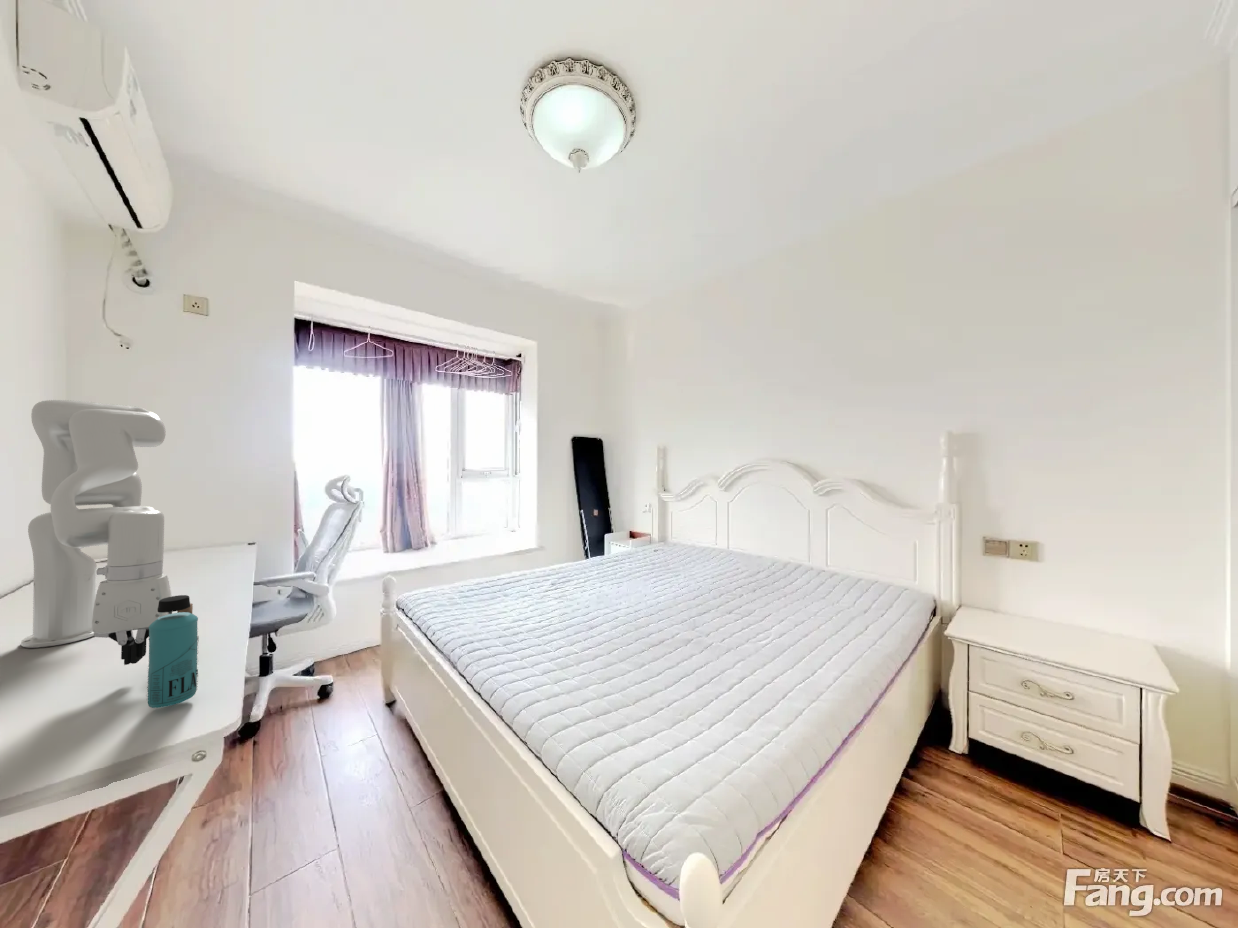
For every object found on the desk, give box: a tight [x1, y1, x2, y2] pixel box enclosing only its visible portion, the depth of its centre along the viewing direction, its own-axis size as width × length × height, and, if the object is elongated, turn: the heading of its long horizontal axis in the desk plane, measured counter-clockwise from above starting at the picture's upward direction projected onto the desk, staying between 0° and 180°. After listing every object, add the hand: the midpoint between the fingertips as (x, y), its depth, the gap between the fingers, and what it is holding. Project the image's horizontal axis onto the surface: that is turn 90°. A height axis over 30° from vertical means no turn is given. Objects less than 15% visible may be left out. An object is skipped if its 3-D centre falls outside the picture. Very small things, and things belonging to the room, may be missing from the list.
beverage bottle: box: [146, 594, 200, 709], centre depth 77 cm, size 6×7×20 cm
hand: (133, 661), depth 85 cm, fingers closed
